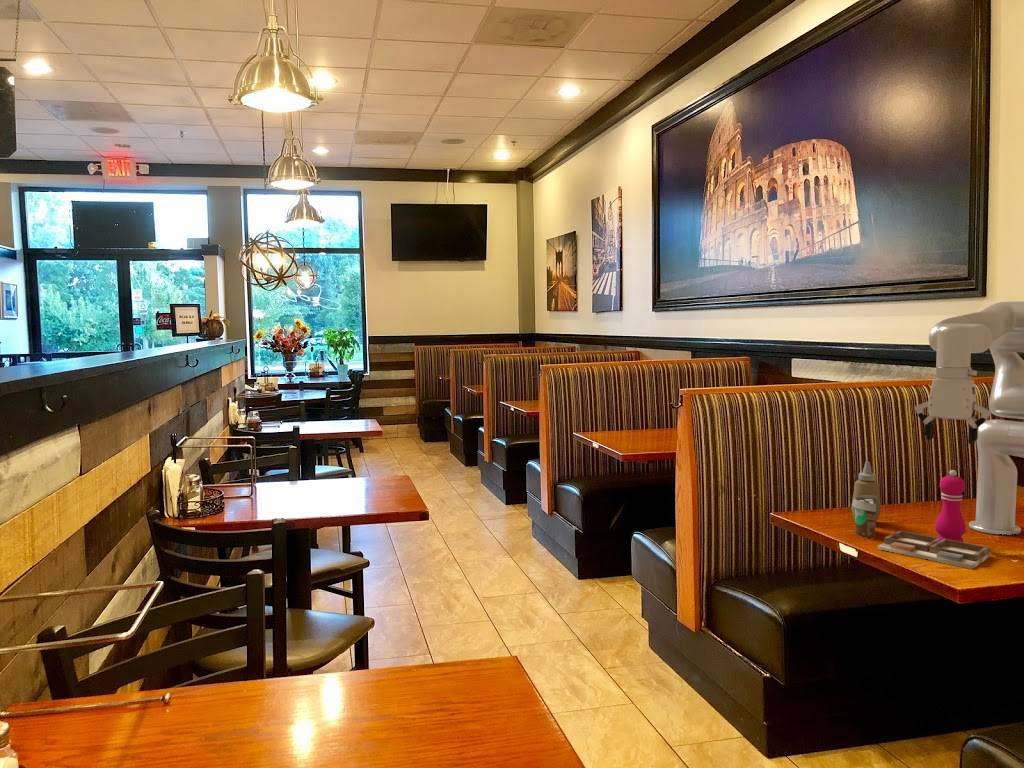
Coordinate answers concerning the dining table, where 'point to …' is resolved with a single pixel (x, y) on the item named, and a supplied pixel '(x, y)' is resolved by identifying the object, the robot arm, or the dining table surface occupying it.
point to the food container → (865, 515)
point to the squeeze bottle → (867, 487)
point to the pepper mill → (951, 508)
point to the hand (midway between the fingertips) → (950, 441)
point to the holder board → (936, 549)
